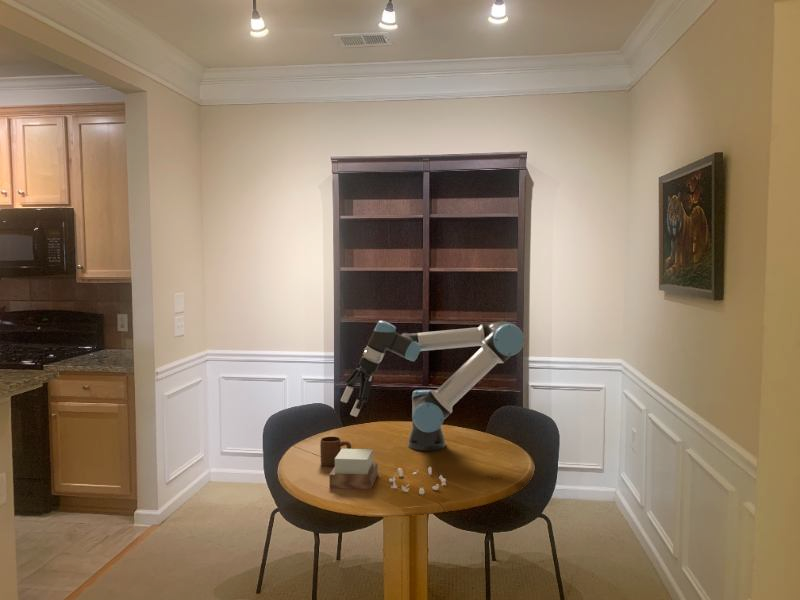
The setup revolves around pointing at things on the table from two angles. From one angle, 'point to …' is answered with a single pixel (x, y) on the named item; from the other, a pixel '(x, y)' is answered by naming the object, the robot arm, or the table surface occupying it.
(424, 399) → the robot arm
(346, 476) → the base block
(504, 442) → the table surface
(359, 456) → the top block
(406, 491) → the game piece set
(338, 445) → the mug
